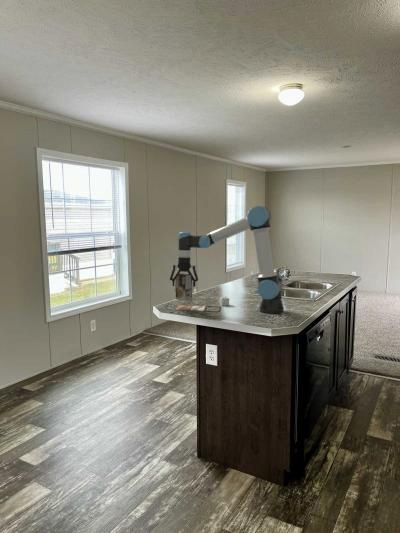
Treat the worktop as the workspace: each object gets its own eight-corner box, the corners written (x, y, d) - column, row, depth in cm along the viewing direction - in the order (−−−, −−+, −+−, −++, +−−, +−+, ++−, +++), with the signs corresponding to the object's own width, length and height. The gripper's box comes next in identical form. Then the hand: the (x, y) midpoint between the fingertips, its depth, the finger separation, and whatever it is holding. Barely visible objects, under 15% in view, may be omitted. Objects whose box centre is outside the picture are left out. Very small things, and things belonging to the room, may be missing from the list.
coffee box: (192, 299, 244) (192, 274, 242) (185, 301, 239) (185, 275, 237) (182, 297, 250) (182, 273, 248) (175, 299, 245) (175, 273, 243)
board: (220, 307, 249) (220, 306, 249) (219, 312, 235) (219, 311, 235) (177, 305, 252) (177, 304, 252) (173, 310, 239) (173, 309, 238)
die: (226, 304, 259) (226, 296, 258) (229, 305, 254) (229, 297, 253) (219, 304, 258) (219, 296, 257) (221, 306, 253) (222, 298, 252)
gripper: (203, 256, 244) (202, 291, 246) (167, 255, 246) (167, 289, 249) (202, 257, 236) (201, 293, 239) (164, 256, 239) (164, 292, 241)
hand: (183, 291), depth 244 cm, fingers closed on coffee box, 11 cm apart
